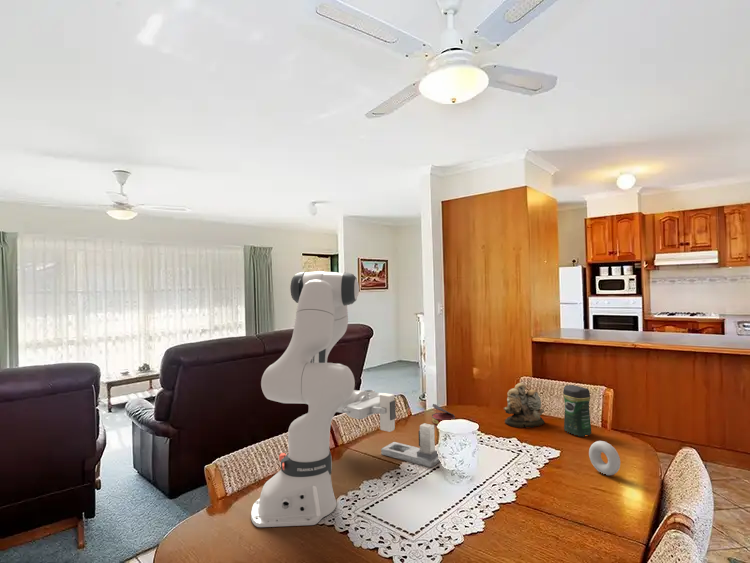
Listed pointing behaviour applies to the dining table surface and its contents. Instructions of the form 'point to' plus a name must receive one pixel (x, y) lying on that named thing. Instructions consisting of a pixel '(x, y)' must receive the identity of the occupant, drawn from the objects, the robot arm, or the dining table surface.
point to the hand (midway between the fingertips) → (389, 409)
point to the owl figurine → (523, 407)
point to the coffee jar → (577, 410)
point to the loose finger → (388, 418)
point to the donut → (611, 455)
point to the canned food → (441, 415)
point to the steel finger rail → (416, 448)
